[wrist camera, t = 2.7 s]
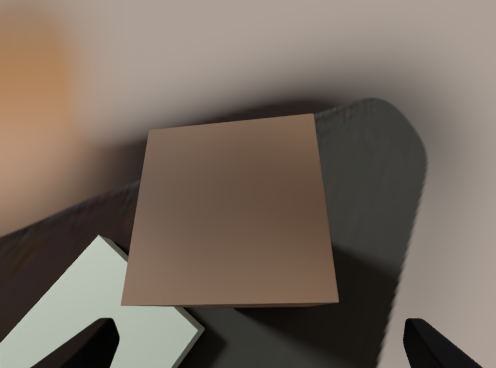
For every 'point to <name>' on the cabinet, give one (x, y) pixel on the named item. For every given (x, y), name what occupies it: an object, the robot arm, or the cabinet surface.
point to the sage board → (100, 306)
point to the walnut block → (232, 218)
